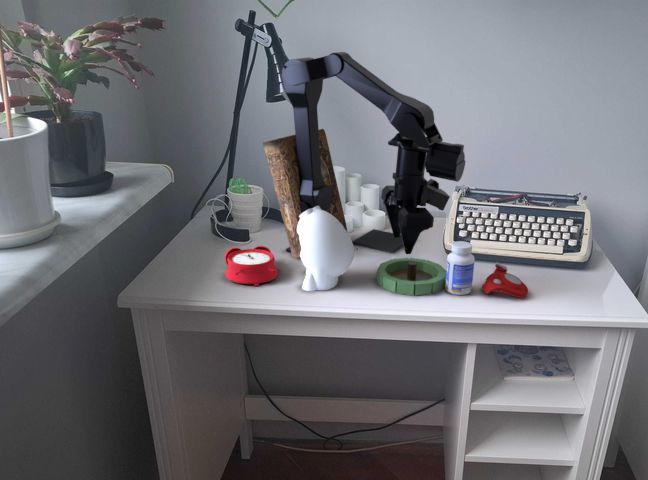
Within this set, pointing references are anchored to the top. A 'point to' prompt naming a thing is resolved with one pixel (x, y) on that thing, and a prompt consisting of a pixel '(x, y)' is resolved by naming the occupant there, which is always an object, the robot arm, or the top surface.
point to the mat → (380, 241)
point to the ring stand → (411, 273)
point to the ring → (411, 286)
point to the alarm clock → (250, 265)
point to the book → (287, 183)
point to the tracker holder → (504, 283)
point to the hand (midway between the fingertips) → (402, 245)
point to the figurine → (323, 249)
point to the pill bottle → (460, 268)
